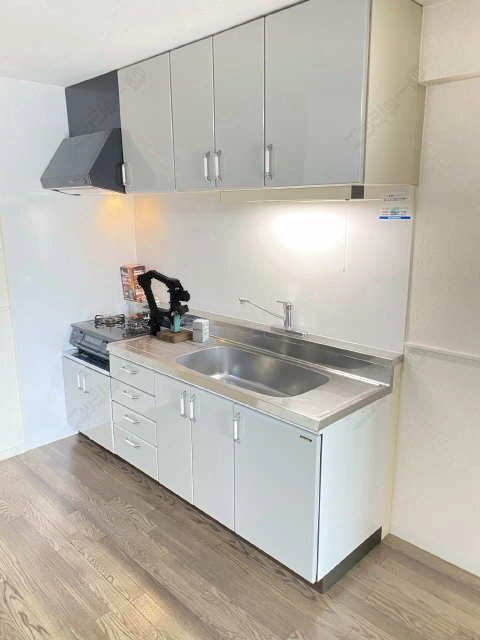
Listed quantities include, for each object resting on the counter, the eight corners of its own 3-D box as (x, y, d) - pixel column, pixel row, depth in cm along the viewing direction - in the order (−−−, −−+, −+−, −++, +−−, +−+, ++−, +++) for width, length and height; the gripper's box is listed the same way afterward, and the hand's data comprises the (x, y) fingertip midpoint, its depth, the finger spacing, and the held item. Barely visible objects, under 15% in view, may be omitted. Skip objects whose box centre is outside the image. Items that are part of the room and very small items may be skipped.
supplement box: (192, 341, 289) (192, 320, 286) (199, 338, 296) (198, 318, 293) (202, 342, 286) (202, 322, 283) (209, 339, 292) (209, 319, 289)
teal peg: (170, 330, 294) (170, 314, 292) (175, 329, 297) (175, 313, 295) (175, 331, 291) (174, 315, 289) (180, 330, 294) (179, 314, 292)
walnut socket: (157, 338, 294) (157, 332, 294) (176, 333, 306) (176, 327, 305) (174, 343, 284) (174, 337, 283) (194, 338, 296) (194, 331, 295)
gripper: (171, 304, 278) (172, 330, 281) (194, 299, 291) (195, 324, 295) (159, 301, 285) (160, 327, 288) (182, 297, 299) (183, 321, 302)
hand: (175, 325), depth 293 cm, fingers closed on teal peg, 4 cm apart
